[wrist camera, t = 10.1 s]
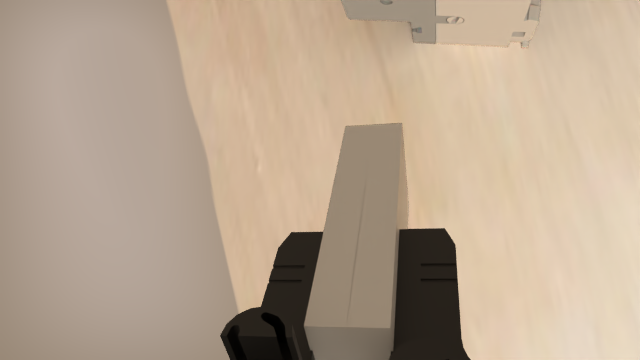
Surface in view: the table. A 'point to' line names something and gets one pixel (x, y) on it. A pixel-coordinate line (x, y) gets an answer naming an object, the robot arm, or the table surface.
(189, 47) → the table surface
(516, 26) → the circuit breaker
